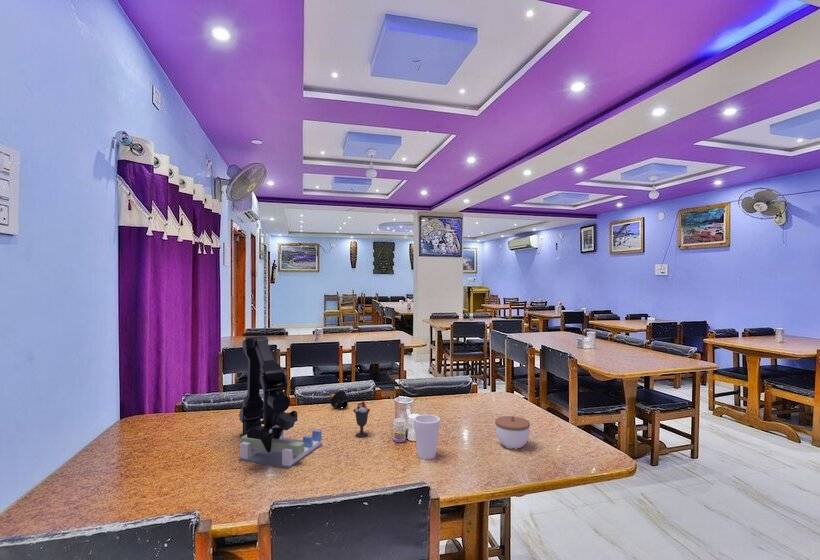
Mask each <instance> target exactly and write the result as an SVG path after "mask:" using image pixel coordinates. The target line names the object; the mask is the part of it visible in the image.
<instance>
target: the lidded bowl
mask: <svg viewBox="0 0 820 560" xmlns="http://www.w3.org/2000/svg"><path fill="white" fill-rule="evenodd" d="M494 423H495V433H496V437H497V439H498V441H499V442H500V443H501V444H502V446H503V447H504V446H505V447H508V448H521V447H522V448H523V447H524V446H525V444H526V443H527V442H528V440H529V436H530V426H531V423H530V421H529V420H527V419H526V418H523V417H519V416H515V415H504V416H499V417H497V418H496V419H495V422H494ZM505 447H504V448H505ZM508 448H507V449H508ZM522 448H521V449H522Z"/></svg>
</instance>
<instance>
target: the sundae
mask: <svg viewBox="0 0 820 560" xmlns="http://www.w3.org/2000/svg"><path fill="white" fill-rule="evenodd" d="M365 400H366V398H364V399H363V400H362V402H358V403H357V405H356V408H354V409H353V413H354V414H355V420H356V425H358V427H359V428H360V430H359V432H357V433H356V434H355V437H356V438H366V437H368V435H369V434H368V433H367V432H364V427H365V426H366V425H367V423H368V418H369V413H370V412H371V409H369V408H368V406H367V404H366V403H365Z"/></svg>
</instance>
